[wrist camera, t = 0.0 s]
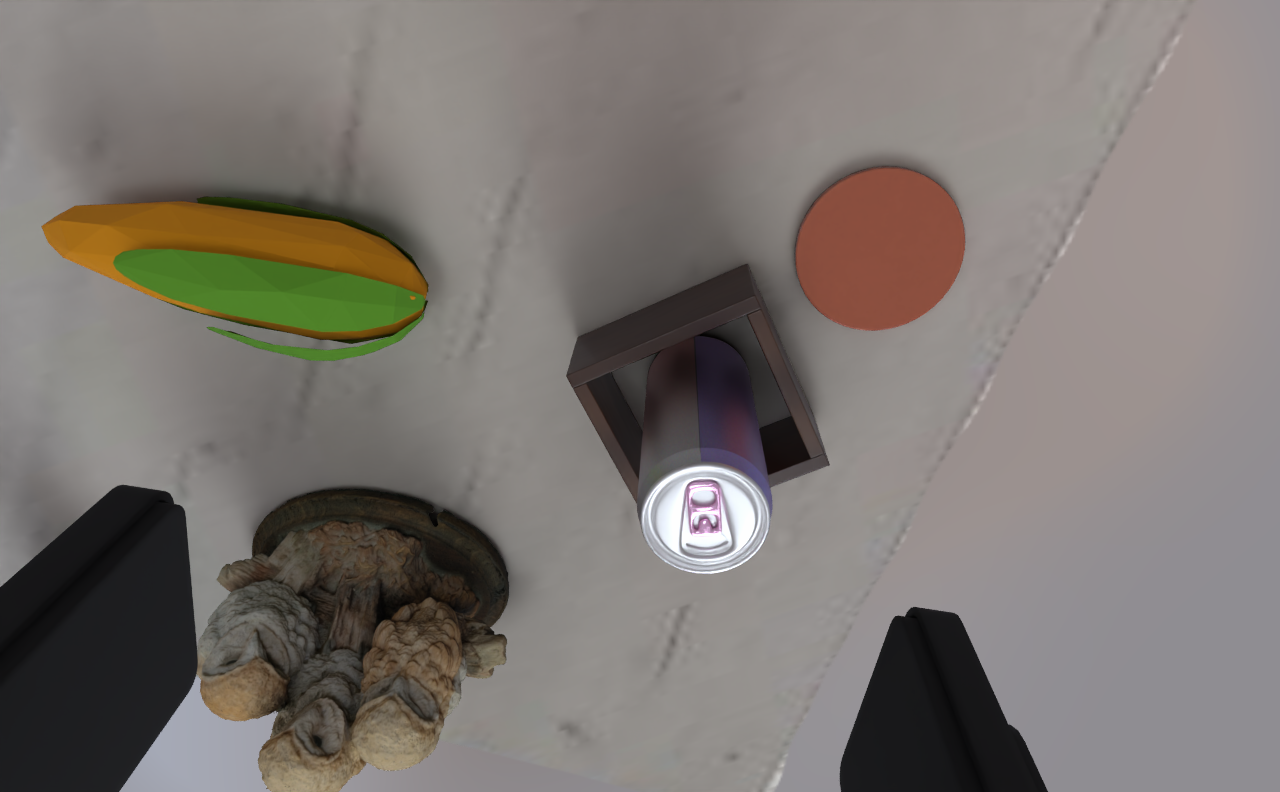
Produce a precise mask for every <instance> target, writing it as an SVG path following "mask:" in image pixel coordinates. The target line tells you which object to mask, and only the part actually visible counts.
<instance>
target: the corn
mask: <svg viewBox="0 0 1280 792" xmlns="http://www.w3.org/2000/svg"><path fill="white" fill-rule="evenodd" d="M197 201H198V203H192V202H184V201H175V202H152V203H129V204H106V205H83V206H74V207H72V208H70V209H68V210H67V211H65V212H63V213H61V214H59V215H58V216H56V217H54V218H53V219H51V220H50V221H49V222H47V223H46V224H44V225H43V226H42V229H43V231H44V234H45V236H46V239H47V241H48V243H49V244H50V245H51V246H52V247H53V248H54V249H55V250H56V251H57V252H58V253H59V254H60V255H61V256H62V257H63V258H66V259H68V260H70V261H73V262H75V263H77V264H79V265H82V266H84V267H86V268H88V269H91V270H93V271H95V272H98V273H100V274H102V275H104V276H107V277H109V278H111V279H113V280H116V281H118V282H120V283H123V284H125V285H127V286H129V287H132V288H134V289H136V290H138V291H141V292H143V293H145V294H148V295H150V296H152V297H155V298H157V299H160V300H162V301H165V302H167V303H170V304H172V305H175V306H177V307H180V308H182V309H185V310H189V311H193V312H197V313H201V314H204V315H208V316H212V317H216V318H220V319H224V320H228V321H232V322H235V323H239V324H243V325H248V326H253V327H259V328H265V329H270V330H276V331H282V332H287V333H293V334H297V335H302V336H306V337H311V338H315V339H320V340H332V341H338V342H344V343H349V344H353V343H358V342H364V341H369V340H374V339H379V338H385V337H388V338H385V339H381V340H378V341H375V342H372V343H369V344H365V345H362V346H359V347H351V348H343V349H335V350H318V349H309V348H299V347H290V346H280V345H273V344H269V343H265V342H261V341H258V340H254V339H251V338H248V337H245V336H242V335H240V334H237V333H234V332H231V331H224V330H221V329H218V328H215V327H207V328H208V329H209V330H212V331H214V332H217V333H219V334H222V335H225V336H227V337H230V338H232V339H235V340H238V341H240V342H243V343H245V344H248V345H251V346H253V347H256V348H260V349H264V350H268V351H272V352H277V353H281V354H285V355H289V356H293V357H298V358H302V359H306V360H316V361H335V360H340V359H345V358H351V357H356V356H361V355H365V354H369V353H372V352H375V351H377V350H380V349H382V348H384V347H387V346H389V345H391V344H394V343H396V342H398V341H400V340H402V339H403V338H404V337H405V336H406V335H407V334H408V333H409V332H410V331H411V330H412V329H413V328H414V327H415V326H416V325H417V324H418V323H419V322H420V321H421V320H422V319H423V317H424V313H423V312H424V311H425V308H426V305H427V302H428V301H426V300H425V299H426V295H427V292H428V286H429V285H428V283H427V282H426V280H425V278H424V276H423V274H422V273H421V271H420V270H419V268H418V266H417V265H416V263H415V261H414V260H413V258H412V256H411V255H409V254H408V253H407V252H406V251H404V250H403V249H402V248H401V247H399V246H398V245H397V244H395V243H394V242H393V241H392V240H390V239H389V238H388V237H386V236H385V235H384V234H382V233H380V232H378V231H375V230H373V229H371V228H369V227H366V226H364V225H362V224H359V223H357V222H355V221H353V220H350V219H345V218H341V217H337V216H332V215H328V214H324V213H319V212H315V211H311V210H307V209H302V208H298V207H294V206H289V205H285V204H280V203H271V202H263V201H255V200H247V199H239V198H230V197H202V198H198V199H197ZM422 313H423V314H422ZM421 315H422V316H421ZM420 316H421V317H420ZM419 317H420V318H419ZM418 318H419V319H418ZM394 334H395V335H394ZM390 336H391V337H390Z"/></svg>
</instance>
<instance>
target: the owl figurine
mask: <svg viewBox="0 0 1280 792" xmlns="http://www.w3.org/2000/svg"><path fill="white" fill-rule="evenodd" d="M432 512H434V509H433V507H432V506H431V505H429V504H427V503H426V502H424V501H421V500H419V499H415V498H411V497H406V496H403V495H399V494H391V493H387V492H380V491H373V490H366V489H359V490H358V489H353V490H351V489H344V490H343V489H341V490H340V489H339V490H327V491H325V490H323V491H319V492H314V493H309V494H307V495H304V496H302V497H298V498H294V499H291V500H289V501H287V503H285V504H284V505H282V506H281V507H280V508H277V509H276V510H275V511H274V512H271V513H270V514H269V515H267V516H266V518H265V519H264V520H263V522H262V523H261V524H260V525H259V527H258V529H257V530H256V533H255V536H254V538H253V546H252V556H253V557H252V558H251V559H250V560H249V559H245V560H244V561H242V560H239V561H235V562H233V563H232V565H230V564H226V565H225V566H224V567H223V568H222V570H221V571H220V574H219V577H218V578H217V581H218V582H219V583H220V584H221V585H222V586H223V587H224V588H226V589H227V590H229V591H231V593H230V594H229V595H228V598H227V599H226V600H225V601H223V602H222V603H221V604H220V606H219V607H218V608H217V609H216V610H215V612H214V613H213V614H212V615H211V617H210V618H209V619H208V624H209V625H208V627H207V628H206V629H205V632H204V633H203V635H202V637H201V638H200V639H199V642H198V650H197V656H198V668H197V675H199V678H200V679H201V689H200V692H201V695H202V699H203V701H204V703H205V705H206V706H207V707H208V708H209V709H210V710H211V711H212V712H213V713H214V714H216V715H218V716H219V717H221V718H223V719H225V720H227V719H228V720H232V721H246V720H249V719H252V718H253V719H254V718H256V719H257V718H260V717H262V716H265V715H269V714H271V713H272V712H274V711H276V712H278V715H277V716H276V718H275V722H274V725H273V729H272V734H271V736H270V740H268V741H267V742H266V743H265V744H264V745H263V746H262V749H261V751H260V753H259V758H258V764H259V769H260V771H261V772H262V780H263V781H264V782H265V785H266V786H267V789H269V790H270V791H272V792H338V791H340V790H341V788H342V787H343V786H344V785H345V784H346V783H347V782H348V780H349V779H350V778H352V776H354V775H357V774H358V773H359V772H360V771H361V770H362V769H363V767H364V766H365V765H366V763H369V764H371V765H372V766H375V767H376V768H377V769H382V770H387V771H389V770H390V771H395V770H403V769H407V768H410V767H411V766H413V765H415V764H417V763H420V762H421V761H422V760H423V759H424V758H426V757H428V756H429V755H430V754H431V753H432V752H433V751H434V749H435V747H436V745H437V742H438V740H439V735H440V732H441V729H442V728H443V726H444V719H445V718H446V717H447V716H449V715H450V714H451V713H452V711H453V708H454V709H455V707H456V706H457V705H458V704H459V702H460V699H461V681H462V680H464V679H465V676H468V677H474V678H482V679H483V678H489V677H491V676H492V674H493V671H494V668H493V667H494V666H496V665H501V664H505V662H506V654H505V653H506V645H507V640H506V637H505V636H504V635H502V634H499V635H494V631H492V630H491V628H490V627H491V626H493V625H494V624H495V623H496V621H497V620H498V619H499V618H500V616H501V615H502V613H503V611H504V609H505V606H506V605H507V601H508V596H509V584H508V583H509V582H508V572H507V571H506V567H505V564H504V561H503V559H502V558H501V556H500V555H499V553H498V551H497V550H496V549H495V548H494V547H493V545H492V544H491V542H490V541H489V540H488V538H487V537H485V536H484V535H483V534H482V533H481V532H480V531H479V530H477V529H476V528H475V527H473V526H472V525H470V524H468V523H466V522H465V521H463V520H460V519H458V518H456V517H455V516H454V515H453V514H451V513H450V512H447V511H445V510H443V511H442V512H440V513H439V514H438V516H437V522H438V524H439V525H438V526H437V527H434V526H433V524H432V522H431V520H430V517H429V515H428V514H429V513H432Z"/></svg>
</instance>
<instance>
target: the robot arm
mask: <svg viewBox="0 0 1280 792" xmlns="http://www.w3.org/2000/svg"><path fill="white" fill-rule="evenodd" d="M197 668H198V656H197V645H196V633H195V621H194V609H193V597H192V586H191V574H190V562H189V550H188V539H187V527H186V516H185V511H184V509H183V507H182V506H180V505H176V504H174V501H173V498H172V496H171V495H170V493H168V492H166V491H160V490H153V489H147V488H141V487H134V486H128V485H120V486H117V487H115V488H114V489H112V490H111V491H110V492H108V493H107V494H106V495H105V496H104V497H103V498H102V499H100V500H99V501H98V502H97V503H96V504H95V505H94V506H92V507H91V508H90V509H89V510H88V511H87V512H86V513H84V514H83V515H82V516H81V517H80V518H79V519H78V520H76V521H75V522H74V523H73V524H72V525H71V526H70V527H69V528H67V529H66V530H65V531H64V532H63V533H62V534H61V535H59V536H58V537H57V538H56V539H55V540H54V541H53V542H51V543H50V544H49V545H48V546H47V547H46V548H45V549H43V550H42V551H41V552H40V553H39V554H38V555H37V556H35V557H34V558H33V559H32V560H31V561H30V562H29V563H27V564H26V565H25V566H24V567H23V568H22V569H21V570H19V571H18V572H17V573H16V574H15V575H14V576H13V577H11V578H10V579H9V580H8V581H7V582H6V583H5V584H4V585H2V586H1V587H0V792H119V791H120V790H121V788H122V787H123V785H124V784H125V783H126V781H127V780H128V778H129V777H130V775H131V774H132V773H133V771H134V770H135V768H136V767H137V765H138V764H139V763H140V761H141V759H142V758H143V757H144V755H145V754H146V752H147V751H148V750H149V748H150V747H151V745H152V744H153V742H154V741H155V740H156V738H157V737H158V735H159V734H160V732H161V731H162V730H163V728H164V727H165V725H166V724H167V722H168V721H169V720H170V718H171V717H172V715H173V714H174V712H175V711H176V709H177V708H178V707H179V705H180V704H181V703H182V701H183V700H184V698H185V697H186V695H187V694H188V692H189V691H190V689H191V687H192V685H193V683H194V680H195V677H196V674H197ZM840 786H841V792H1048V791H1047V789H1046V787H1045V784H1044V782H1043V780H1042V778H1041V776H1040V774H1039V771H1038V769H1037V767H1036V765H1035V763H1034V761H1033V758H1032V756H1031V754H1030V752H1029V750H1028V748H1027V745H1026V743H1025V741H1024V740H1023V738H1022V736H1021V735H1020V733H1019V731H1018V730H1016V729H1015V728H1014V727H1013V726H1011V725H1008V723H1007V721H1006V719H1005V716H1004V714H1003V712H1002V710H1001V707H1000V705H999V703H998V701H997V699H996V696H995V694H994V692H993V690H992V688H991V685H990V683H989V681H988V679H987V676H986V674H985V672H984V670H983V668H982V665H981V663H980V661H979V659H978V657H977V654H976V652H975V650H974V647H973V645H972V643H971V641H970V639H969V636H968V634H967V632H966V630H965V627H964V625H963V623H962V621H961V620H960V618H959V616H958V615H957V614H955V613H951V612H944V611H938V610H931V609H925V608H918V607H913V608H911V609H910V610H909V611H908V612H907V614H906V616H905V617H904V616H895V617H894V619H893V620H892V622H891V624H890V627H889V630H888V632H887V635H886V638H885V641H884V643H883V646H882V649H881V652H880V655H879V657H878V660H877V663H876V666H875V668H874V671H873V674H872V677H871V679H870V682H869V685H868V688H867V691H866V693H865V696H864V699H863V702H862V704H861V707H860V710H859V713H858V716H857V719H856V721H855V724H854V727H853V729H852V732H851V735H850V738H849V740H848V743H847V746H846V749H845V751H844V754H843V757H842V761H841V767H840Z"/></svg>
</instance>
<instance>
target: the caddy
mask: <svg viewBox="0 0 1280 792" xmlns="http://www.w3.org/2000/svg"><path fill="white" fill-rule="evenodd" d="M744 315H747V317H748V319H749V321H750V324H751V326H752V328H753V330H754V333H755V335H756V337H757V339H758V342H759V344H760V346H761V348H762V351H763V353H764V355H765V357H766V360H767V362H768V364H769V366H770V369H771V371H772V373H773V375H774V378H775V380H776V382H777V384H778V387H779V389H780V391H781V393H782V395H783V398H784V400H785V402H786V404H787V407H788V409H789V411H790V413H791V417H789V418H786V419H784V420H781V421H779V422H776V423H773V424H771V425H768V426H766V427H763V428H761V429H759V430H760V436H761V441H762V447H763V452H764V457H765V463H766V468H767V474H768V479H769V484H770V487H772V486H775V485H778V484H780V483H783V482H786V481H788V480H791V479H794V478H797V477H799V476H802V475H805V474H807V473H810V472H813V471H815V470H818V469H821V468H823V467H826V466H829V461H828V458H827V455H826V452H825V449H824V446H823V442H822V439H821V436H820V433H819V430H818V427H817V424H816V421H815V418H814V416H813V413H812V411H811V409H810V406H809V404H808V402H807V399H806V397H805V395H804V393H803V390H802V388H801V386H800V383H799V381H798V379H797V376H796V374H795V372H794V369H793V367H792V365H791V363H790V360H789V358H788V356H787V353H786V351H785V349H784V346H783V344H782V342H781V340H780V337H779V335H778V333H777V330H776V328H775V326H774V323H773V321H772V319H771V316H770V314H769V312H768V310H767V307H766V305H765V303H764V300H763V298H762V296H761V293H760V291H759V289H758V287H757V284H756V282H755V280H754V277H753V275H752V273H751V270H750V268H749V266H748V264H745V265H743V266H740V267H738V268H736V269H733V270H731V271H729V272H727V273H724V274H722V275H720V276H717V277H715V278H713V279H711V280H708V281H706V282H704V283H701V284H699V285H697V286H695V287H692V288H690V289H688V290H685V291H683V292H681V293H679V294H676V295H674V296H672V297H669V298H667V299H665V300H662V301H660V302H658V303H656V304H653V305H651V306H649V307H646V308H644V309H642V310H640V311H637V312H635V313H633V314H630V315H628V316H626V317H624V318H621V319H619V320H617V321H614V322H612V323H610V324H608V325H605V326H603V327H601V328H598V329H596V330H594V331H591V332H589V333H587V334H585V335H582V336H580V337H578V338H577V341H576V344H575V348H574V351H573V355H572V358H571V361H570V365H569V368H568V372H567V375H566V377H567V378H568V380H569V382H570V384H571V386H572V387H573V389H574V391H575V393H576V395H577V397H578V398H579V400H580V402H581V404H582V406H583V407H584V409H585V411H586V413H587V415H588V416H589V418H590V420H591V422H592V424H593V425H594V427H595V429H596V431H597V433H598V434H599V436H600V438H601V440H602V442H603V444H604V445H605V447H606V449H607V451H608V453H609V454H610V456H611V458H612V460H613V462H614V463H615V465H616V467H617V469H618V471H619V472H620V474H621V476H622V478H623V480H624V482H625V483H626V485H627V487H628V489H629V491H630V492H631V494H632V496H633V498H634V500H635V501H636V503H637V497H638V484H639V472H640V460H641V448H642V436H643V433H642V431H641V430H640V428H639V426H638V424H637V422H636V420H635V418H634V416H633V414H632V413H631V411H630V409H629V407H628V405H627V403H626V401H625V399H624V397H623V396H622V394H621V392H620V390H619V388H618V386H617V384H616V382H615V380H614V379H613V377H612V375H611V373H610V372H612V371H614V370H617V369H619V368H622V367H624V366H626V365H629V364H631V363H633V362H636V361H638V360H640V359H643V358H645V357H648V356H650V355H652V354H655V353H657V352H659V351H662V350H664V349H666V348H669V347H671V346H674V345H676V344H678V343H681V342H683V341H685V340H688V339H690V338H692V337H695V336H697V335H700V334H702V333H704V332H707V331H709V330H711V329H714V328H716V327H718V326H721V325H723V324H726V323H728V322H730V321H733V320H735V319H737V318H740V317H742V316H744Z"/></svg>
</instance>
